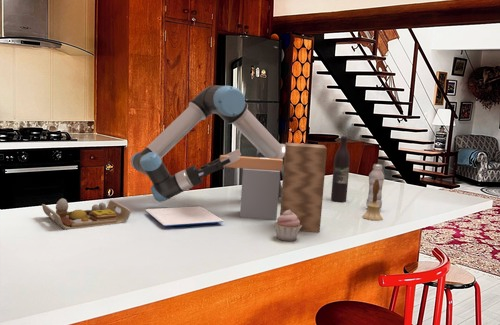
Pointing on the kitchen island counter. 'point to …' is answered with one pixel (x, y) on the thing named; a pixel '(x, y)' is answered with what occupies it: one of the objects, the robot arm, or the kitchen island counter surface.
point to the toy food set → (87, 215)
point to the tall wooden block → (304, 183)
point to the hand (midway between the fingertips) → (239, 153)
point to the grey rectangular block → (259, 194)
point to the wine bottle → (340, 173)
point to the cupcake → (287, 226)
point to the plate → (183, 216)
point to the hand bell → (373, 205)
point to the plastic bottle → (373, 176)
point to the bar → (256, 163)
